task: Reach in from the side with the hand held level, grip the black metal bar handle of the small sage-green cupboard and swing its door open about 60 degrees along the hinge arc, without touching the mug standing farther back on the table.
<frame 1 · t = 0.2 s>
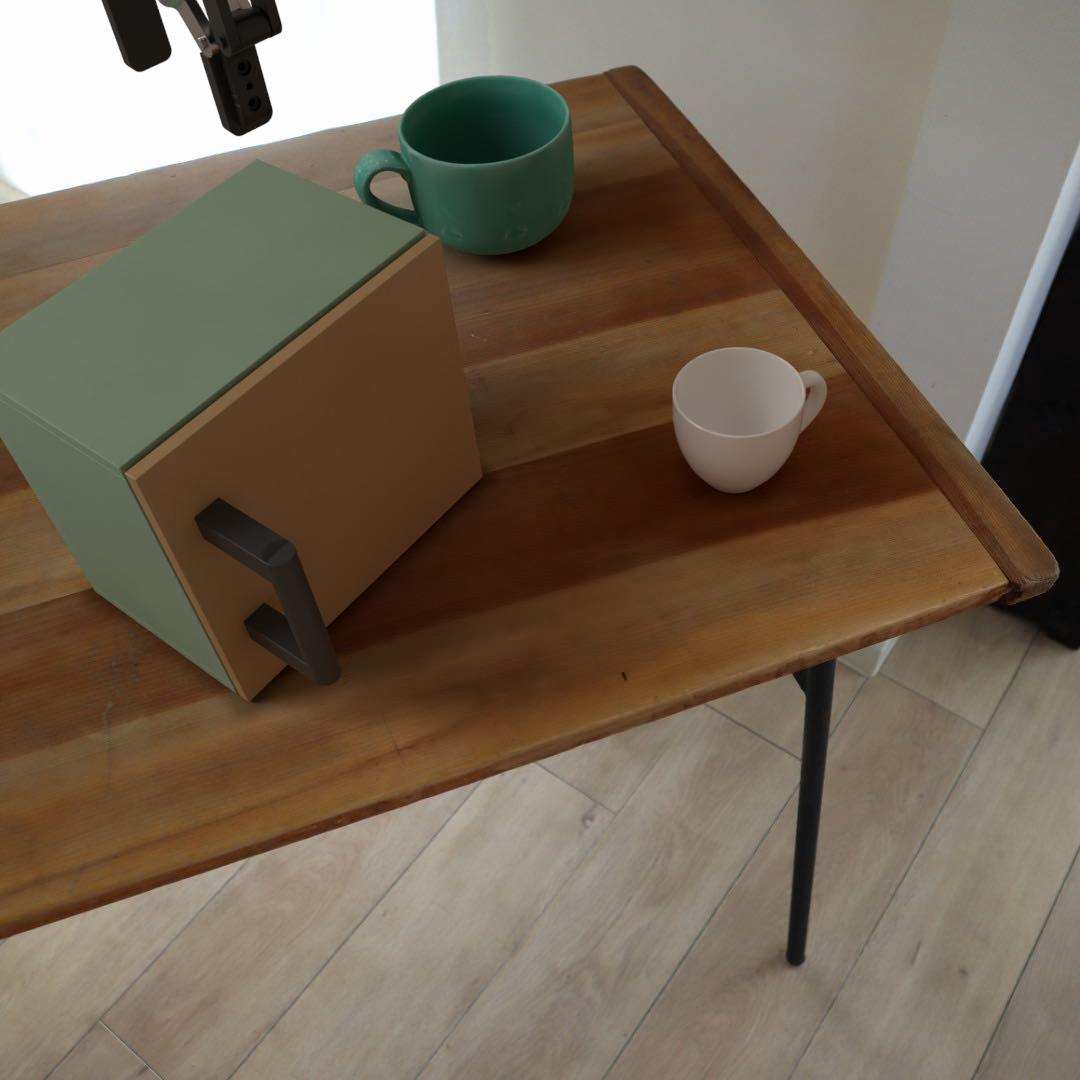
hand: (198, 94, 54), 28 cm above the table, tool pointing down, fingers open, 8 cm apart
cup: (749, 465, 75), on the table
mug: (474, 235, 93), on the table
cupboard door: (375, 497, 62), point 9 cm above the table, hinge at 0.0°
cupboard: (287, 529, 74), on the table
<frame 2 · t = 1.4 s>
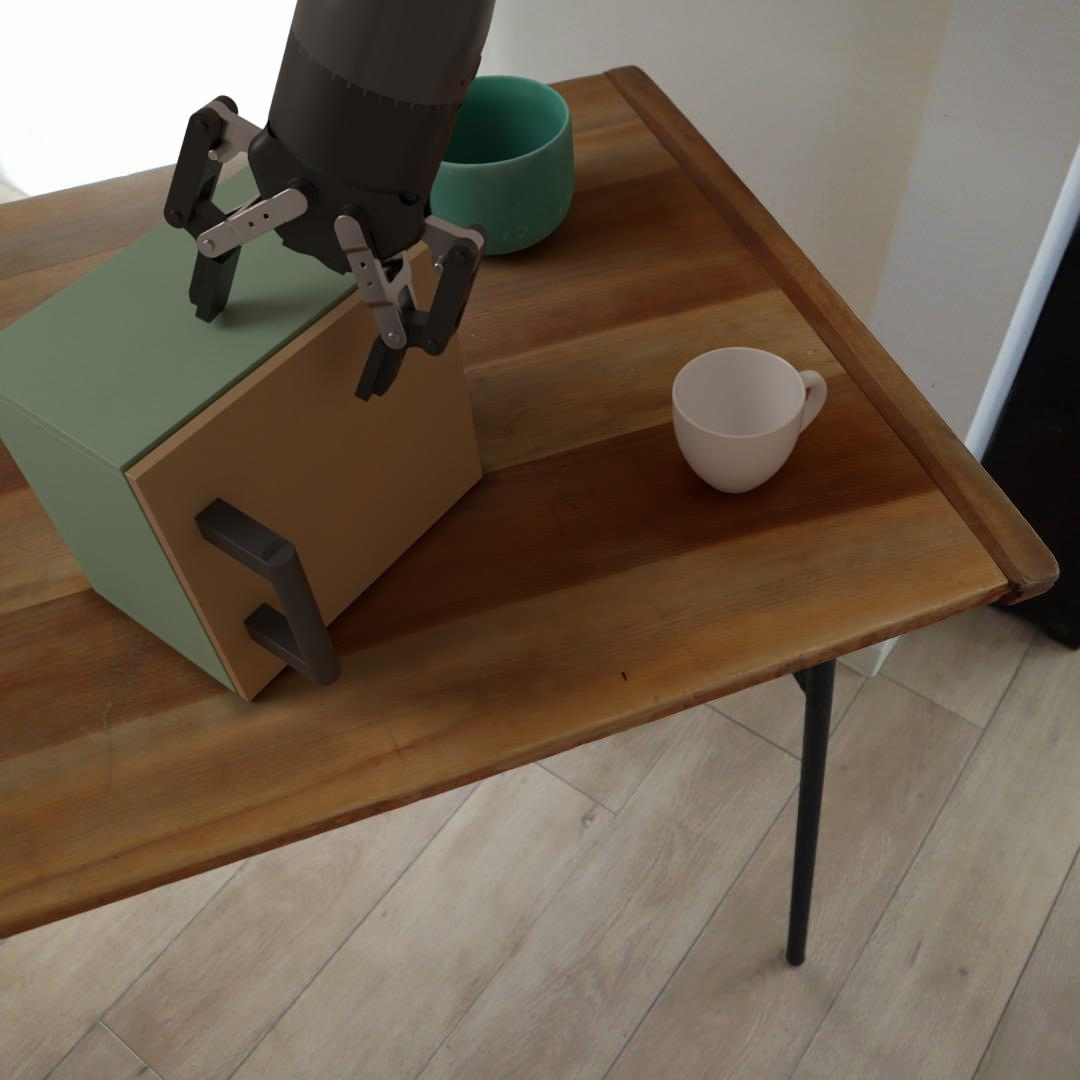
hand: (289, 353, 59), 17 cm above the table, tool tilted 30°, fingers open, 8 cm apart
nothing on the table moved.
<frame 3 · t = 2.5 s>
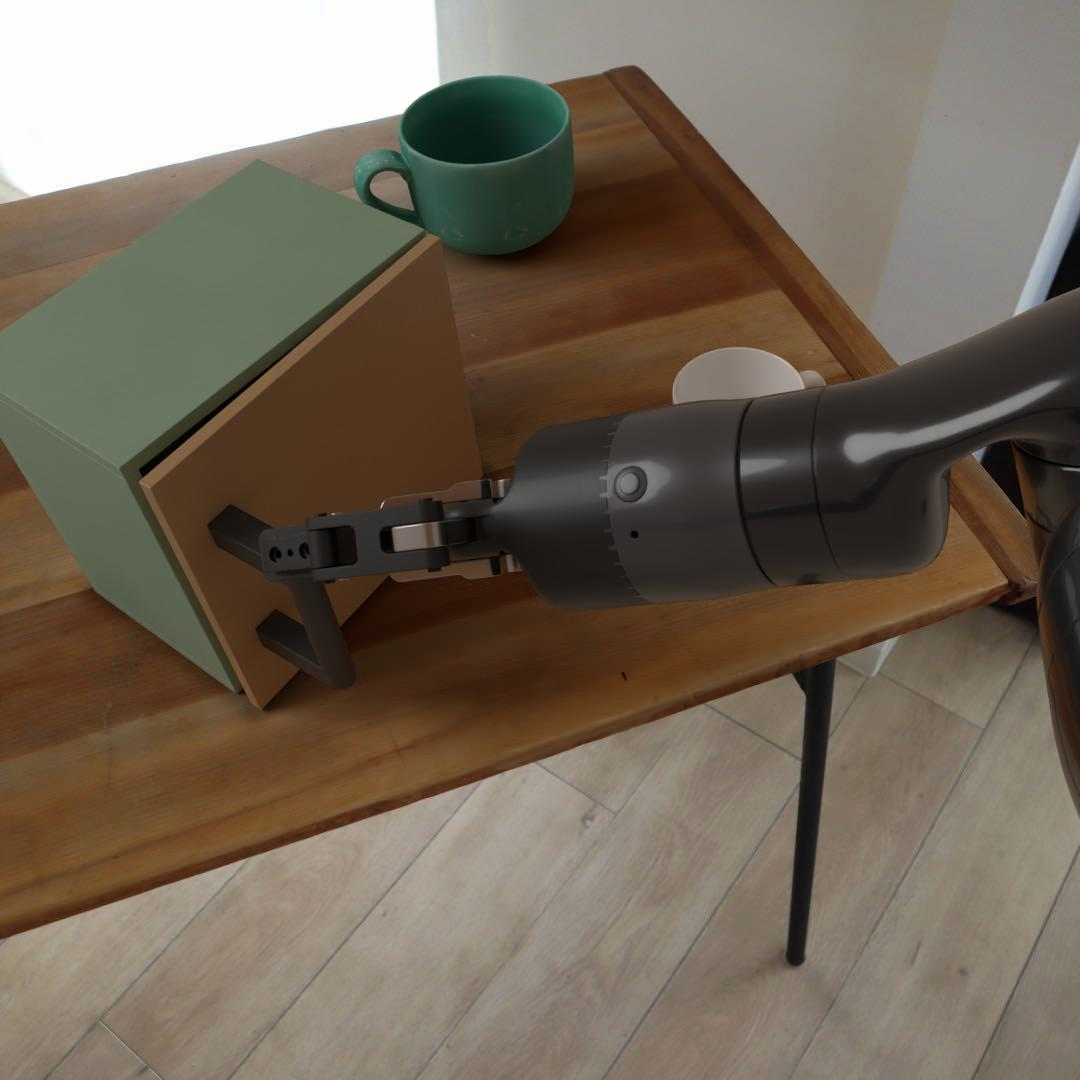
hand: (331, 548, 53), 15 cm above the table, tool tilted 70°, fingers open, 8 cm apart
cupboard door: (383, 499, 62), point 9 cm above the table, hinge at 2.7°
everything else where it was.
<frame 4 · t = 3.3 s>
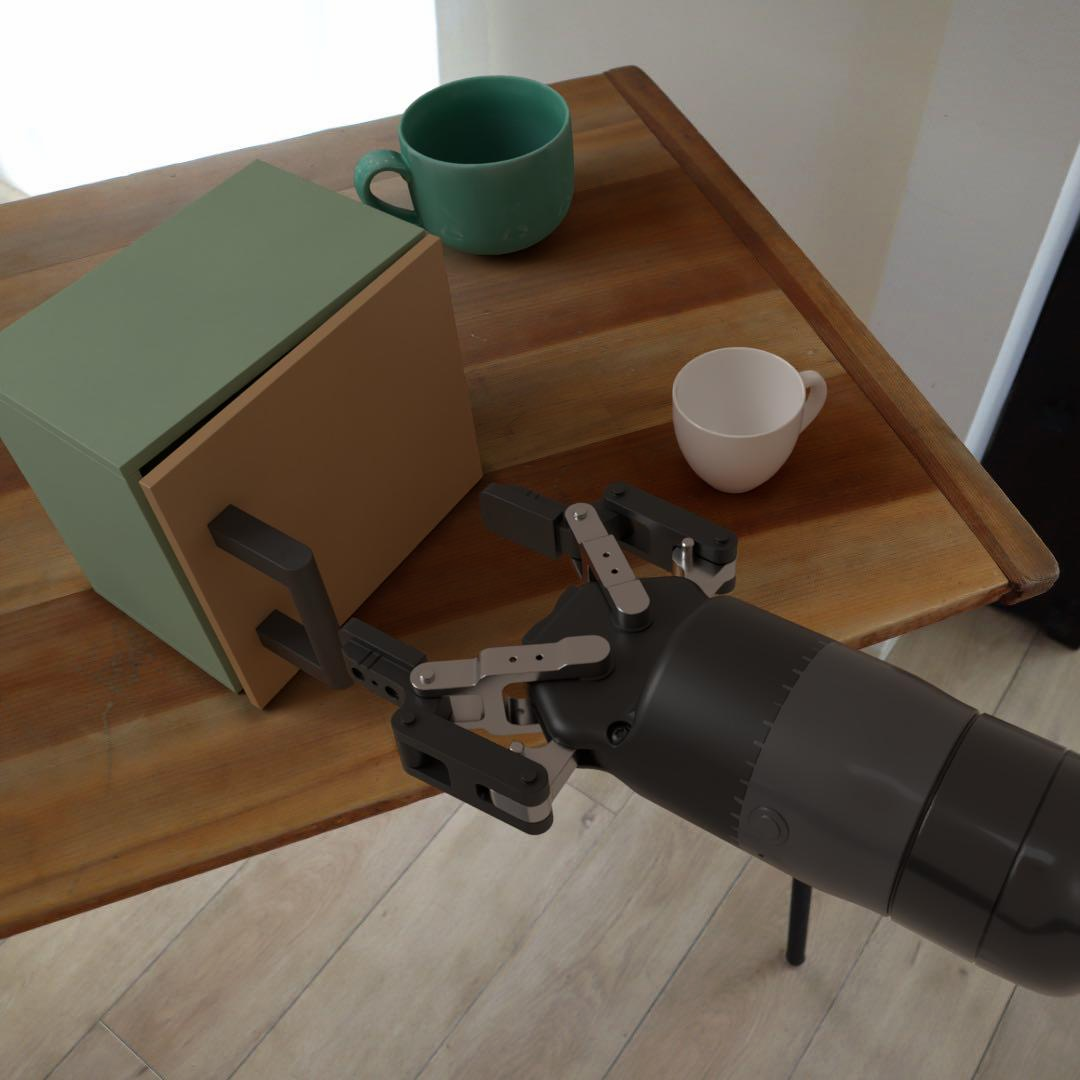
hand: (420, 567, 46), 19 cm above the table, tool horizontal, fingers open, 8 cm apart
nothing on the table moved.
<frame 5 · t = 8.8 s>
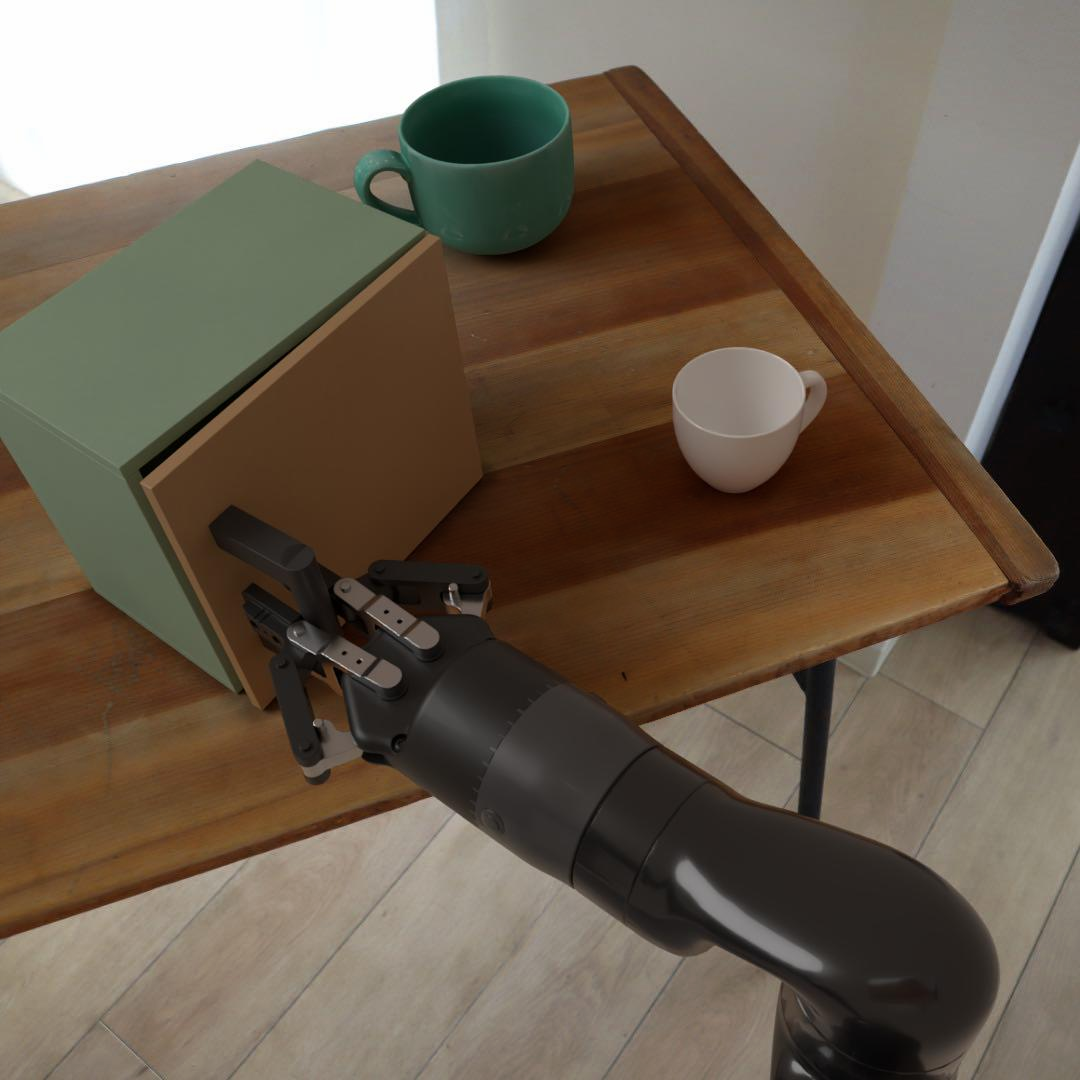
hand: (267, 583, 59), 10 cm above the table, tool horizontal, fingers closed on cupboard door
cupboard door: (384, 499, 62), point 9 cm above the table, hinge at 2.9°, touching gripper
everything else where it was.
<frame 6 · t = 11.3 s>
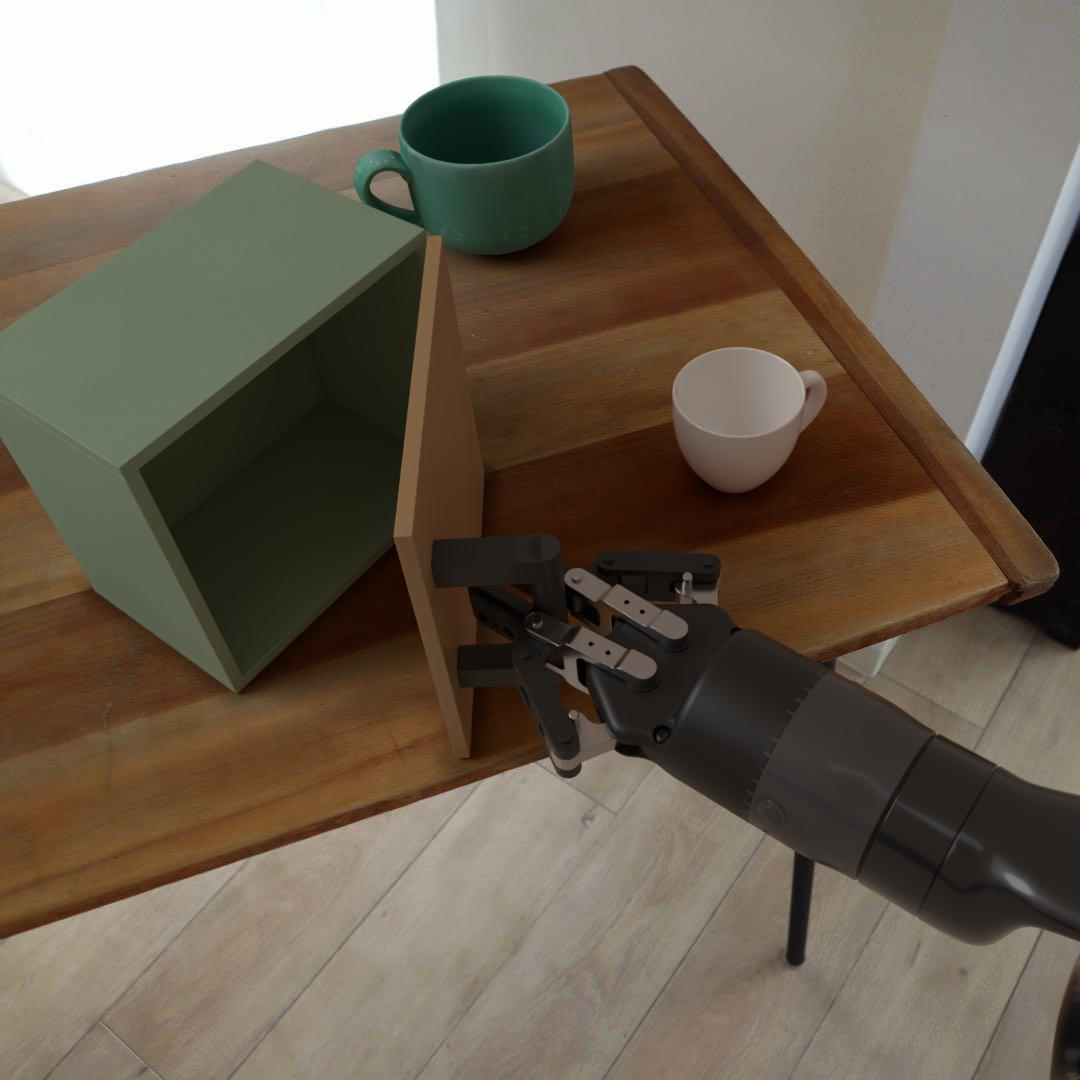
hand: (488, 574, 58), 10 cm above the table, tool horizontal, fingers closed on cupboard door
cupboard door: (503, 495, 62), point 9 cm above the table, hinge at 37.6°, touching gripper
everything else where it was.
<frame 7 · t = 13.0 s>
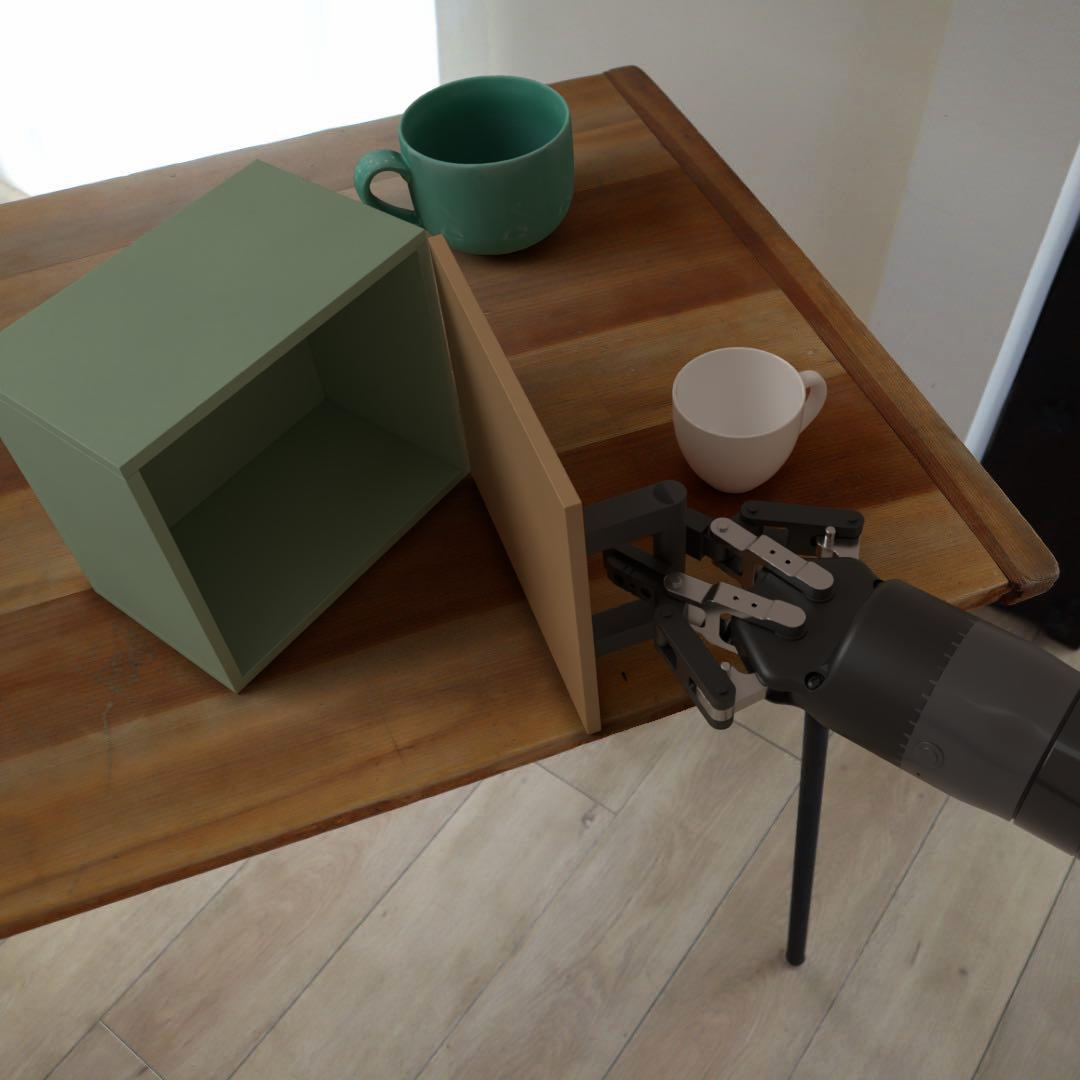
hand: (626, 532, 59), 9 cm above the table, tool horizontal, fingers closed
cupboard door: (566, 469, 63), point 9 cm above the table, hinge at 57.5°
everything else where it was.
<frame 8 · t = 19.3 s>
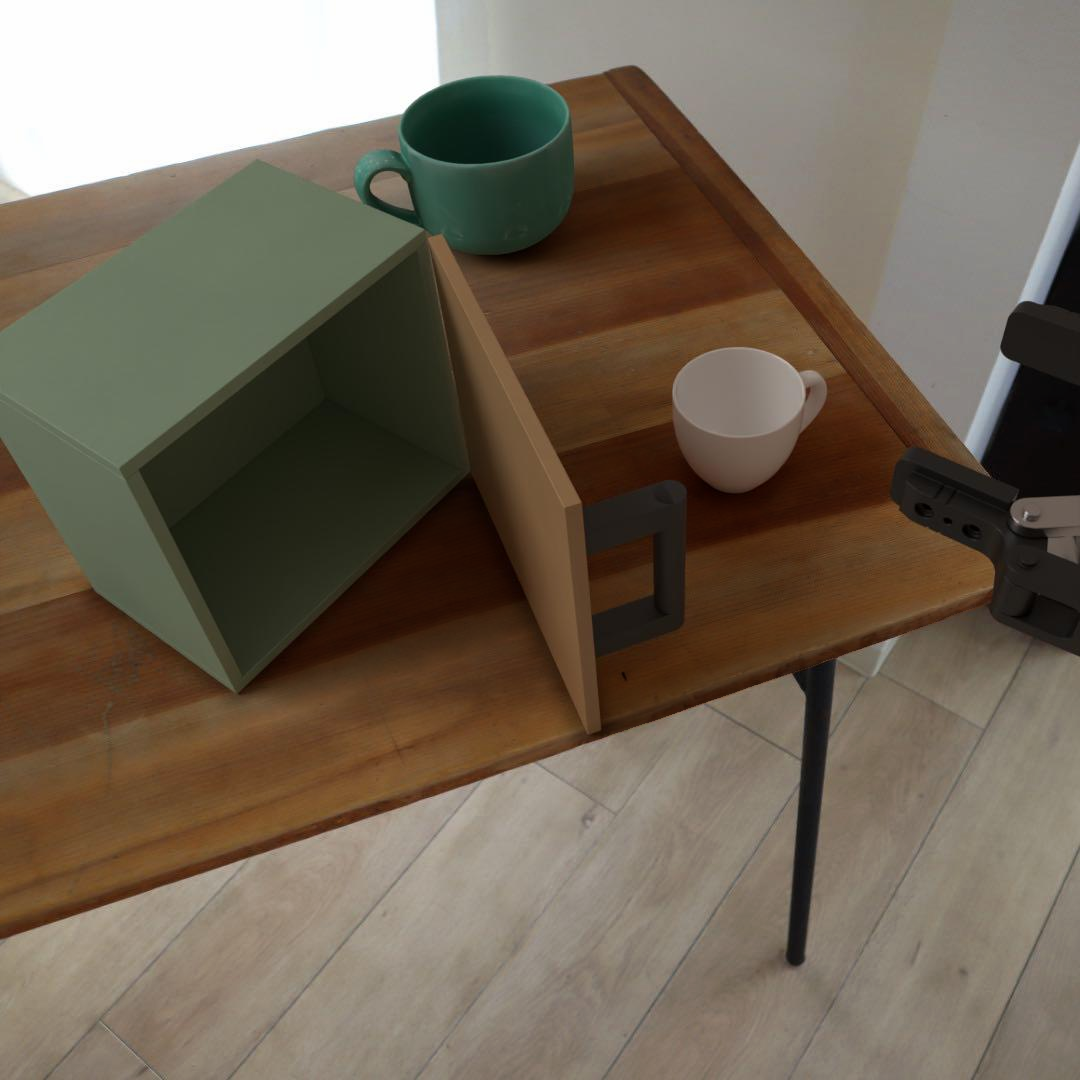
hand: (955, 395, 40), 26 cm above the table, tool horizontal, fingers open, 8 cm apart
nothing on the table moved.
at the end: cupboard door at +58° (first picture: +0°); mug touching table; mug moved 0.2 cm from its start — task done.
